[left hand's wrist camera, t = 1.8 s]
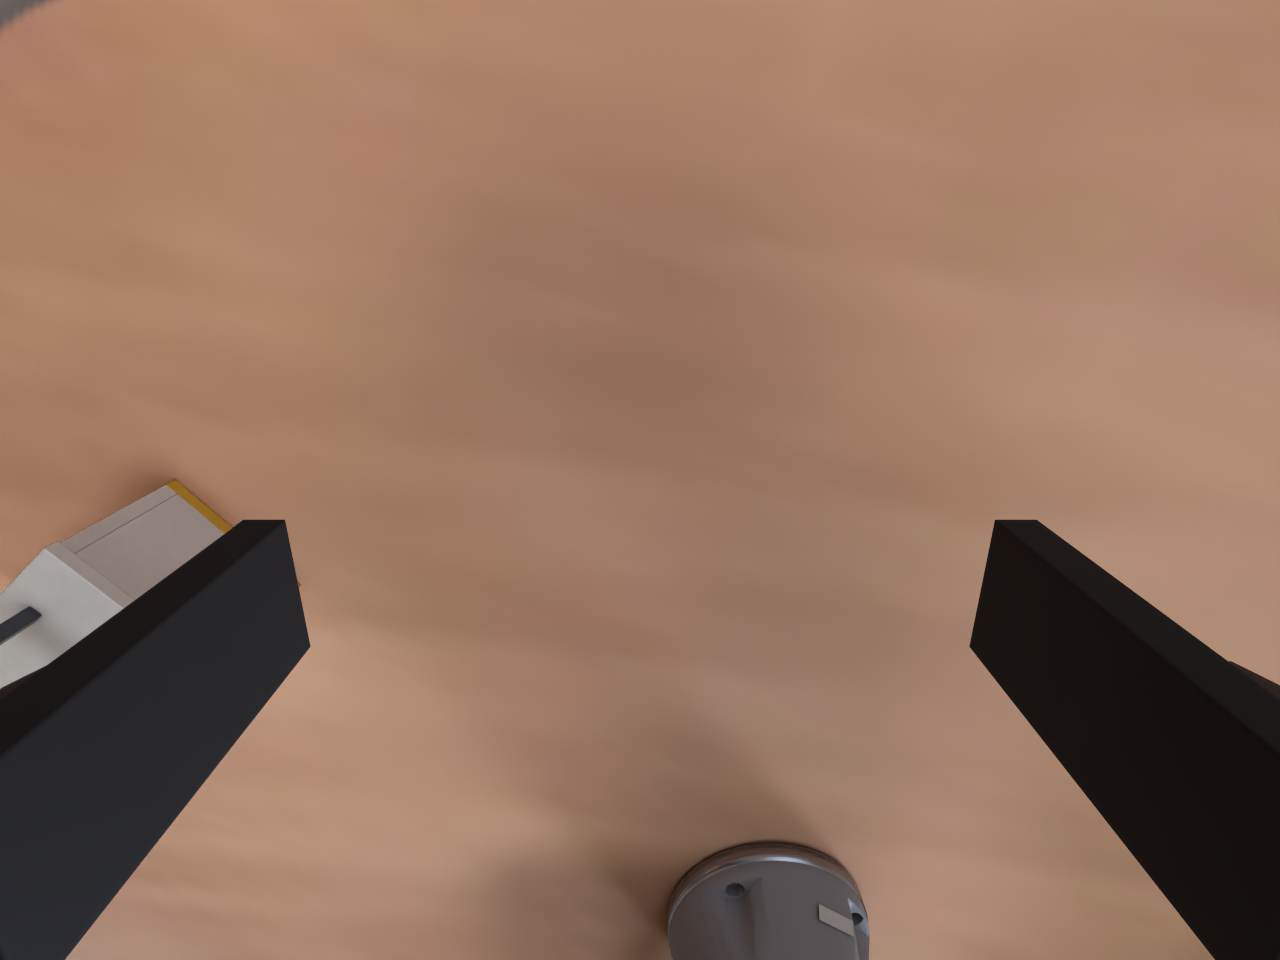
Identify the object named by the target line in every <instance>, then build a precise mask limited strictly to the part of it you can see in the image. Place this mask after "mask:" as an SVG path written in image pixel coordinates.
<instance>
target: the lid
mask: <svg viewBox="0 0 1280 960" xmlns="http://www.w3.org/2000/svg"><path fill="white" fill-rule="evenodd" d="M133 601H134V599H133V598H131V597H130V596H129V595H127V594H126V593H125V592H124V591H122V590H121V589H120V588H118V587H117V586H116V585H114V584H113V583H112V582H111V581H109V580H108V579H107V578H105V577H104V576H103V575H101V574H100V573H99V572H98V571H96V570H95V569H94V568H92V567H91V566H90V565H89V564H87V563H86V562H85V561H83V560H82V559H81V558H79V557H78V556H77V555H76V554H74V553H73V552H72V551H70V550H69V549H68V548H66V547H65V546H64V545H63V544H61V543H60V542H58V541H57V542H55V543H53V544H51V545H49V546H47V547H45V548H44V549H43V550H42V551H41V552H40V553H39V554H38V555H37V556H36V557H35V558H34V559H33V560H32V561H31V563H30V564H29V565H28V566H27V567H26V568H25V569H24V570H23V571H22V572H21V573H20V574H19V575H18V576H17V577H16V579H15V580H14V581H13V582H12V583H11V584H10V585H9V586H8V587H7V588H6V589H5V590H4V591H3V592H2V593H1V595H0V689H1V688H2V687H4V686H6V685H8V684H10V683H12V682H14V681H16V680H18V679H20V678H22V677H24V676H26V675H28V674H30V673H32V672H34V671H36V670H38V669H40V668H42V667H44V666H46V665H48V664H49V663H51V662H52V661H53V660H55V659H56V658H57V657H59V656H60V655H61V654H63V653H64V652H65V651H67V650H68V649H70V648H71V647H72V646H74V645H75V644H76V643H78V642H79V641H80V640H82V639H83V638H84V637H86V636H87V635H88V634H90V633H91V632H93V631H94V630H95V629H97V628H98V627H99V626H101V625H102V624H103V623H105V622H106V621H107V620H109V619H110V618H111V617H113V616H114V615H115V614H117V613H118V612H120V611H121V610H122V609H124V608H125V607H126V606H128V605H129V604H130V603H132V602H133Z"/></svg>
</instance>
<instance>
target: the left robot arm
mask: <svg viewBox="0 0 1280 960" xmlns="http://www.w3.org/2000/svg"><path fill="white" fill-rule="evenodd" d="M309 648H310V642H309V637H308V632H307V627H306V622H305V617H304V612H303V607H302V602H301V597H300V592H299V587H298V582H297V578H296V573H295V568H294V563H293V558H292V553H291V548H290V543H289V538H288V533H287V528H286V523H285V520H243V521H241V522H240V523H239V524H237V525H236V526H234V527H233V528H232V529H230V530H229V531H228V532H226V533H225V534H224V535H222V536H221V537H220V538H218V539H217V540H216V541H214V542H213V543H211V544H210V545H209V546H207V547H206V548H205V549H203V550H202V551H201V552H199V553H198V554H197V555H195V556H194V557H193V558H191V559H190V560H188V561H187V562H186V563H184V564H183V565H182V566H180V567H179V568H178V569H176V570H175V571H174V572H172V573H171V574H170V575H168V576H167V577H166V578H164V579H163V580H161V581H160V582H159V583H157V584H156V585H155V586H153V587H152V588H151V589H149V590H148V591H147V592H145V593H144V594H143V595H141V596H140V597H138V598H137V599H136V600H134V601H133V602H132V603H130V604H129V605H128V606H126V607H125V608H124V609H122V610H121V611H120V612H118V613H117V614H115V615H114V616H113V617H111V618H110V619H109V620H107V621H106V622H105V623H103V624H102V625H101V626H99V627H98V628H97V629H95V630H94V631H93V632H91V633H90V634H88V635H87V636H86V637H84V638H83V639H82V640H80V641H79V642H78V643H76V644H75V645H74V646H72V647H71V648H70V649H68V650H67V651H65V652H64V653H63V654H61V655H60V656H59V657H57V658H56V659H55V660H53V661H52V662H51V663H49V664H48V665H46V666H44V667H42V668H40V669H38V670H36V671H34V672H32V673H30V674H28V675H26V676H24V677H22V678H20V679H18V680H16V681H14V682H12V683H10V684H8V685H6V686H4V687H2V688H1V689H0V960H65V959H66V958H67V956H68V955H69V954H70V952H71V951H72V950H73V949H74V947H75V946H76V945H77V944H78V942H79V941H80V940H81V938H82V937H83V936H84V935H85V933H86V932H87V931H88V930H89V928H90V927H91V926H92V924H93V923H94V922H95V921H96V919H97V918H98V917H99V915H100V914H101V913H102V912H103V910H104V909H105V908H106V907H107V905H108V904H109V903H110V901H111V900H112V899H113V898H114V896H115V895H116V894H117V893H118V891H119V890H120V889H121V887H122V886H123V885H124V884H125V882H126V881H127V880H128V879H129V877H130V876H131V875H132V873H133V872H134V871H135V870H136V868H137V867H138V866H139V865H140V863H141V862H142V861H143V859H144V858H145V857H146V856H147V854H148V853H149V852H150V850H151V849H152V848H153V847H154V845H155V844H156V843H157V842H158V840H159V839H160V838H161V836H162V835H163V834H164V833H165V831H166V830H167V829H168V828H169V826H170V825H171V824H172V822H173V821H174V820H175V819H176V817H177V816H178V815H179V814H180V812H181V811H182V810H183V808H184V807H185V806H186V805H187V803H188V802H189V801H190V800H191V798H192V797H193V796H194V794H195V793H196V792H197V791H198V789H199V788H200V787H201V785H202V784H203V783H204V782H205V780H206V779H207V778H208V777H209V775H210V774H211V773H212V771H213V770H214V769H215V768H216V766H217V765H218V764H219V763H220V761H221V760H222V759H223V757H224V756H225V755H226V754H227V752H228V751H229V750H230V749H231V747H232V746H233V745H234V743H235V742H236V741H237V740H238V738H239V737H240V736H241V734H242V733H243V732H244V731H245V729H246V728H247V727H248V726H249V724H250V723H251V722H252V720H253V719H254V718H255V717H256V715H257V714H258V713H259V712H260V710H261V709H262V708H263V706H264V705H265V704H266V703H267V701H268V700H269V699H270V698H271V696H272V695H273V694H274V692H275V691H276V690H277V689H278V687H279V686H280V685H281V684H282V682H283V681H284V680H285V678H286V677H287V676H288V675H289V673H290V672H291V671H292V669H293V668H294V667H295V666H296V664H297V663H298V662H299V661H300V659H301V658H302V657H303V655H304V654H305V653H306V652H307V650H308V649H309ZM970 648H971V649H972V650H973V652H974V653H975V654H976V655H977V657H978V658H979V659H980V661H981V662H982V663H983V664H984V666H985V667H986V668H987V669H988V671H989V672H990V673H991V675H992V676H993V677H994V678H995V680H996V681H997V682H998V684H999V685H1000V686H1001V687H1002V689H1003V690H1004V691H1005V692H1006V694H1007V695H1008V696H1009V698H1010V699H1011V700H1012V701H1013V703H1014V704H1015V705H1016V706H1017V708H1018V709H1019V710H1020V712H1021V713H1022V714H1023V715H1024V717H1025V718H1026V719H1027V720H1028V722H1029V723H1030V724H1031V726H1032V727H1033V728H1034V729H1035V731H1036V732H1037V733H1038V735H1039V736H1040V737H1041V738H1042V740H1043V741H1044V742H1045V743H1046V745H1047V746H1048V747H1049V749H1050V750H1051V751H1052V752H1053V754H1054V755H1055V756H1056V757H1057V759H1058V760H1059V761H1060V763H1061V764H1062V765H1063V766H1064V768H1065V769H1066V770H1067V771H1068V773H1069V774H1070V775H1071V777H1072V778H1073V779H1074V780H1075V782H1076V783H1077V784H1078V785H1079V787H1080V788H1081V789H1082V791H1083V792H1084V793H1085V794H1086V796H1087V797H1088V798H1089V800H1090V801H1091V802H1092V803H1093V805H1094V806H1095V807H1096V808H1097V810H1098V811H1099V812H1100V814H1101V815H1102V816H1103V817H1104V819H1105V820H1106V821H1107V822H1108V824H1109V825H1110V826H1111V828H1112V829H1113V830H1114V831H1115V833H1116V834H1117V835H1118V836H1119V838H1120V839H1121V840H1122V842H1123V843H1124V844H1125V845H1126V847H1127V848H1128V849H1129V850H1130V852H1131V853H1132V854H1133V856H1134V857H1135V858H1136V859H1137V861H1138V862H1139V863H1140V865H1141V866H1142V867H1143V868H1144V870H1145V871H1146V872H1147V873H1148V875H1149V876H1150V877H1151V879H1152V880H1153V881H1154V882H1155V884H1156V885H1157V886H1158V887H1159V889H1160V890H1161V891H1162V893H1163V894H1164V895H1165V896H1166V898H1167V899H1168V900H1169V901H1170V903H1171V904H1172V905H1173V907H1174V908H1175V909H1176V910H1177V912H1178V913H1179V914H1180V916H1181V917H1182V918H1183V919H1184V921H1185V922H1186V923H1187V924H1188V926H1189V927H1190V928H1191V930H1192V931H1193V932H1194V933H1195V935H1196V936H1197V937H1198V938H1199V940H1200V941H1201V942H1202V944H1203V945H1204V946H1205V947H1206V949H1207V950H1208V951H1209V952H1210V954H1211V955H1212V956H1213V958H1214V959H1215V960H1280V686H1279V685H1278V684H1276V683H1274V682H1272V681H1270V680H1268V679H1266V678H1264V677H1262V676H1260V675H1258V674H1256V673H1254V672H1252V671H1250V670H1248V669H1246V668H1244V667H1242V666H1240V665H1238V664H1236V663H1233V662H1228V661H1227V660H1225V659H1224V658H1223V657H1221V656H1220V655H1219V654H1217V653H1216V652H1215V651H1213V650H1212V649H1210V648H1209V647H1208V646H1206V645H1205V644H1204V643H1202V642H1201V641H1200V640H1198V639H1197V638H1196V637H1194V636H1193V635H1192V634H1190V633H1189V632H1187V631H1186V630H1185V629H1183V628H1182V627H1181V626H1179V625H1178V624H1177V623H1175V622H1174V621H1173V620H1171V619H1170V618H1169V617H1167V616H1166V615H1165V614H1163V613H1162V612H1160V611H1159V610H1158V609H1156V608H1155V607H1154V606H1152V605H1151V604H1150V603H1148V602H1147V601H1146V600H1144V599H1143V598H1142V597H1140V596H1139V595H1137V594H1136V593H1135V592H1133V591H1132V590H1131V589H1129V588H1128V587H1127V586H1125V585H1124V584H1123V583H1121V582H1120V581H1119V580H1117V579H1116V578H1114V577H1113V576H1112V575H1110V574H1109V573H1108V572H1106V571H1105V570H1104V569H1102V568H1101V567H1100V566H1098V565H1097V564H1096V563H1094V562H1093V561H1092V560H1090V559H1089V558H1087V557H1086V556H1085V555H1083V554H1082V553H1081V552H1079V551H1078V550H1077V549H1075V548H1074V547H1073V546H1071V545H1070V544H1069V543H1067V542H1066V541H1064V540H1063V539H1062V538H1060V537H1059V536H1058V535H1056V534H1055V533H1054V532H1052V531H1051V530H1050V529H1048V528H1047V527H1046V526H1044V525H1043V524H1041V523H1040V522H1039V521H1037V520H995V523H994V528H993V533H992V538H991V543H990V548H989V553H988V558H987V563H986V568H985V573H984V578H983V582H982V587H981V592H980V597H979V602H978V607H977V612H976V617H975V622H974V627H973V632H972V637H971V642H970ZM667 922H668V940H669V946H670V949H671V954H672V958H673V960H869V926H868V918H867V913H866V910H865V906H864V903H863V900H862V897H861V894H860V891H859V889H858V886H857V884H856V883H855V881H854V879H853V878H852V877H851V875H850V874H849V873H848V872H847V871H846V870H845V869H844V868H843V867H842V866H841V865H840V864H838V863H837V862H836V861H834V860H833V859H831V858H830V857H828V856H826V855H824V854H822V853H820V852H817V851H815V850H812V849H809V848H805V847H802V846H797V845H791V844H784V843H759V844H751V845H744V846H740V847H736V848H732V849H729V850H726V851H723V852H721V853H718V854H716V855H714V856H712V857H710V858H708V859H706V860H705V861H703V862H701V863H700V864H698V865H697V866H696V867H694V868H693V869H692V870H691V871H690V872H689V873H687V874H686V875H685V877H684V878H683V879H682V880H681V881H680V883H679V884H678V885H677V887H676V888H675V890H674V892H673V894H672V896H671V899H670V902H669V906H668V912H667Z"/></svg>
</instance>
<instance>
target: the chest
mask: <svg viewBox="0 0 1280 960" xmlns="http://www.w3.org/2000/svg"><path fill="white" fill-rule="evenodd" d="M230 529H232V527H231V526H230V525H229V524H228V523H226V522H225V521H224V520H223V519H222V518H220V517H219V516H218V515H217V514H216V513H215V512H213V511H212V510H211V509H210V508H209V507H207V506H206V505H205V504H204V503H203V502H201V501H200V500H199V499H198V498H197V497H196V496H194V495H193V494H192V493H191V492H190V491H188V490H187V489H186V488H185V487H184V486H182V485H181V484H180V483H179V482H178V481H177V480H175V479H174V480H172V481H171V482H169V483H167V484H166V485H164V486H162V487H161V488H159V489H157V490H155V491H153V492H152V493H150V494H148V495H146V496H144V497H142V498H141V499H139V500H137V501H135V502H133V503H131V504H130V505H128V506H126V507H124V508H122V509H121V510H119V511H117V512H115V513H113V514H111V515H110V516H108V517H106V518H104V519H102V520H100V521H99V522H97V523H95V524H93V525H91V526H90V527H88V528H86V529H84V530H82V531H80V532H79V533H77V534H75V535H73V536H71V537H69V538H68V539H66V540H64V541H62V542H60V543H61V544H63V545H64V546H65V547H66V548H68V549H69V550H70V551H72V552H73V553H74V554H76V555H77V556H78V557H79V558H81V559H82V560H83V561H85V562H86V563H87V564H89V565H90V566H91V567H92V568H94V569H95V570H96V571H98V572H99V573H100V574H101V575H103V576H104V577H105V578H107V579H108V580H109V581H111V582H112V583H113V584H114V585H116V586H117V587H118V588H120V589H121V590H122V591H124V592H125V593H126V594H127V595H129V596H130V597H131V598H133V599H134V600H136V599H137V598H138V597H140V596H141V595H143V594H144V593H145V592H147V591H148V590H149V589H151V588H152V587H153V586H155V585H156V584H157V583H159V582H160V581H161V580H163V579H164V578H166V577H167V576H168V575H170V574H171V573H172V572H174V571H175V570H176V569H178V568H179V567H180V566H182V565H183V564H184V563H186V562H187V561H188V560H190V559H191V558H193V557H194V556H195V555H197V554H198V553H199V552H201V551H202V550H203V549H205V548H206V547H207V546H209V545H210V544H211V543H213V542H214V541H216V540H217V539H218V538H220V537H221V536H222V535H224V534H225V533H226V532H228V531H229V530H230ZM299 586H300V584H299V583H298V587H299Z"/></svg>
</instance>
